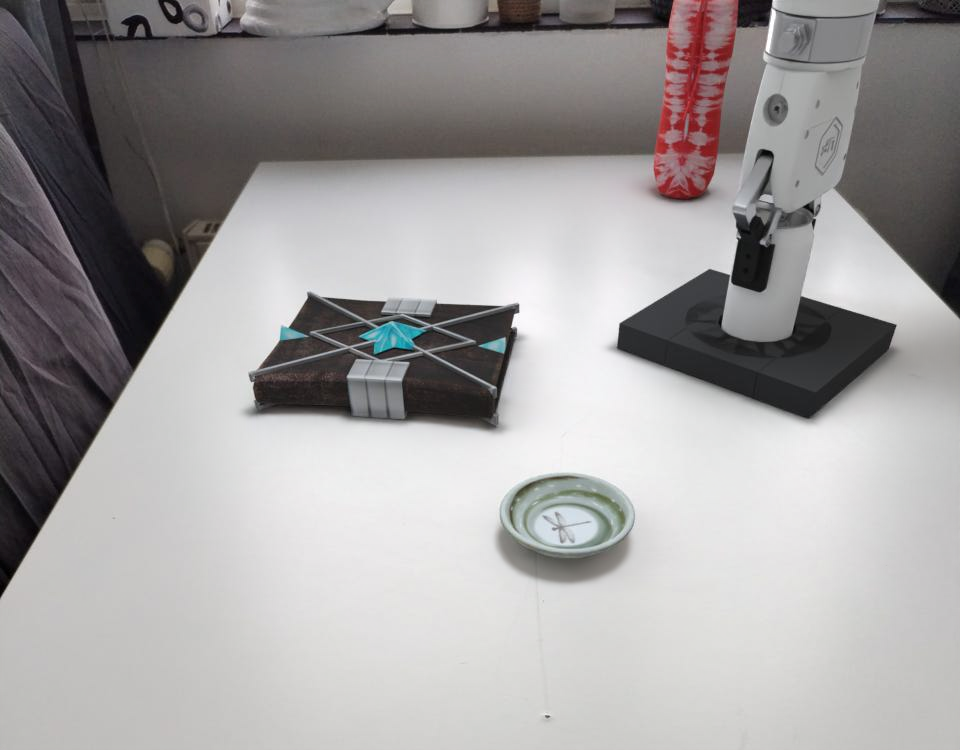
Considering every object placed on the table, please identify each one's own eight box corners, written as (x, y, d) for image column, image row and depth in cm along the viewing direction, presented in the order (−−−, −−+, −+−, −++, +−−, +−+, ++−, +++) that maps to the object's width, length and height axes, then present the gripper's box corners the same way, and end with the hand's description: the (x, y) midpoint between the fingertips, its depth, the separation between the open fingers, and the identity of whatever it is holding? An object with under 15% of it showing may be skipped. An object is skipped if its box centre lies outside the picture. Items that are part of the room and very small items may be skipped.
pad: (889, 349, 84) (897, 324, 82) (808, 418, 76) (816, 392, 74) (705, 292, 94) (709, 268, 92) (616, 347, 86) (619, 323, 84)
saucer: (659, 549, 64) (663, 522, 62) (545, 596, 61) (546, 569, 59) (582, 482, 70) (584, 456, 68) (476, 522, 67) (475, 495, 65)
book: (254, 412, 78) (242, 359, 75) (310, 325, 90) (302, 276, 87) (497, 428, 76) (497, 374, 72) (522, 336, 88) (523, 286, 84)
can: (714, 358, 83) (737, 225, 75) (722, 327, 88) (744, 198, 79) (785, 366, 82) (817, 231, 73) (790, 334, 86) (820, 204, 78)
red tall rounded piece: (659, 170, 121) (685, -63, 103) (719, 175, 119) (756, -61, 101) (642, 201, 113) (667, -46, 95) (706, 207, 111) (743, -44, 93)
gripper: (809, 68, 61) (757, 320, 74) (913, 22, 70) (851, 254, 82) (713, 53, 64) (679, 295, 77) (824, 11, 73) (778, 234, 86)
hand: (768, 272), depth 80 cm, fingers closed on can, 6 cm apart
